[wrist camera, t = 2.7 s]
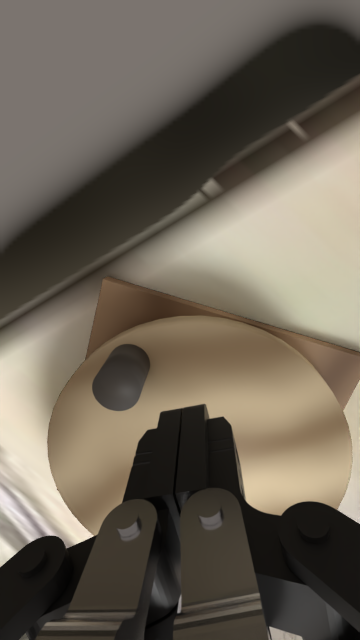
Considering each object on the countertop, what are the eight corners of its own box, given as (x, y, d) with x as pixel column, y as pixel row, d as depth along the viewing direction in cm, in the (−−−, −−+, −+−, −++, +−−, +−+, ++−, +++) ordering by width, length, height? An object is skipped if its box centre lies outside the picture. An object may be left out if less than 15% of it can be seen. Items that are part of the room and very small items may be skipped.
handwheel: (384, 505, 23) (425, 573, 19) (146, 582, 27) (135, 652, 23) (268, 257, 18) (286, 271, 14) (1, 393, 22) (-47, 437, 18)
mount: (363, 353, 23) (382, 371, 20) (267, 539, 29) (273, 571, 26) (107, 276, 22) (94, 284, 20) (61, 480, 28) (47, 507, 26)
